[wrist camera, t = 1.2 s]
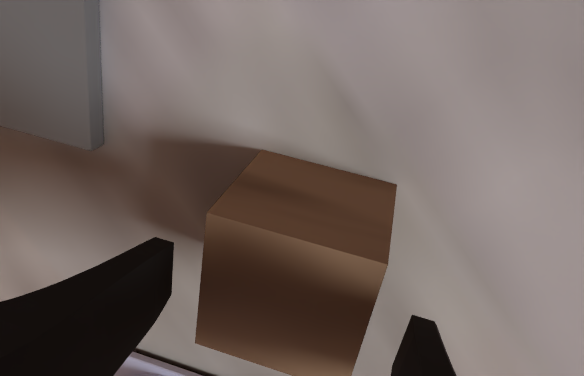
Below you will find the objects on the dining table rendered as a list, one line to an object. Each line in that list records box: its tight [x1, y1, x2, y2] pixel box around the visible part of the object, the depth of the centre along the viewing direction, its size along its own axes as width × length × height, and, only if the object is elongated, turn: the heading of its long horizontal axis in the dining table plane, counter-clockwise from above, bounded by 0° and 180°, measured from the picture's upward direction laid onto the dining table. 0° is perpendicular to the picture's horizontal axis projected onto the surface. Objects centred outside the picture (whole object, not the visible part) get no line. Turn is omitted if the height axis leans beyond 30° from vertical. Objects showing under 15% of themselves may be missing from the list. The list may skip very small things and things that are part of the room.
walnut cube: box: [195, 150, 397, 376], centre depth 15 cm, size 5×5×5 cm
